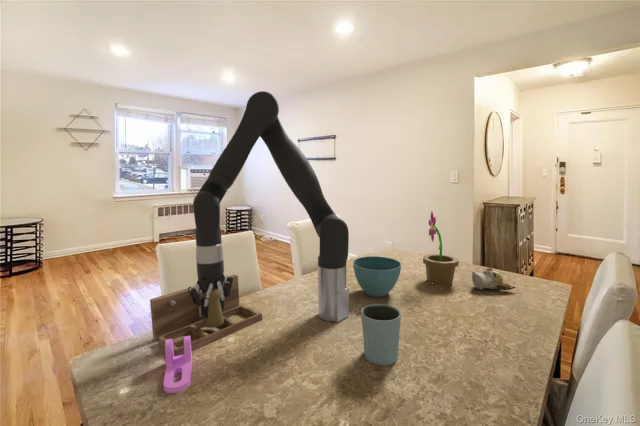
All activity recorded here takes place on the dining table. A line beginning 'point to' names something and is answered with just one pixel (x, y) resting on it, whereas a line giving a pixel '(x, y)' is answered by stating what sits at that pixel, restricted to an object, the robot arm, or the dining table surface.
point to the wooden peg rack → (195, 317)
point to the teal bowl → (376, 274)
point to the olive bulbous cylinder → (214, 310)
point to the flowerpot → (439, 261)
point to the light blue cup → (381, 333)
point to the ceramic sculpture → (489, 280)
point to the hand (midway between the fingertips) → (213, 314)
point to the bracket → (177, 366)
